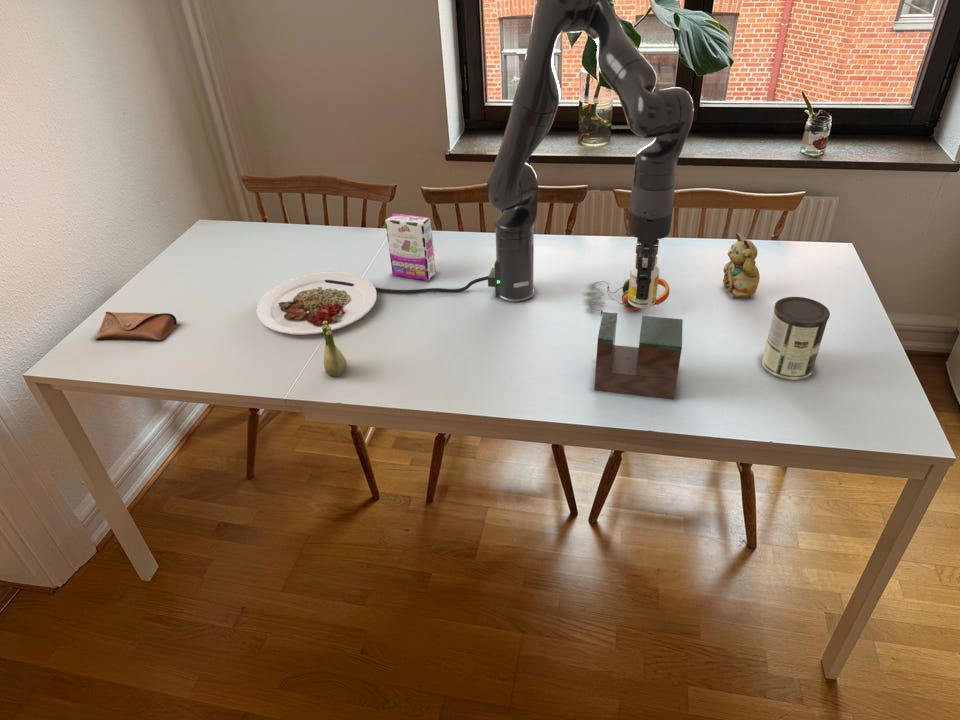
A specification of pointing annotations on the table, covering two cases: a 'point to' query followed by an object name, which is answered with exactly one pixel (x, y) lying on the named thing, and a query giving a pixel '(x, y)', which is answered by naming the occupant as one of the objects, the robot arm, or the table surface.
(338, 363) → the fennel bulb
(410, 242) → the candy bar box
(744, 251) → the decorative figurine
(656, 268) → the supplement bottle
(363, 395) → the table surface
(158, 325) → the sunglasses case
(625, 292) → the headphones
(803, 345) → the coffee can
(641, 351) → the notched wooden block
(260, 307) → the plated food
